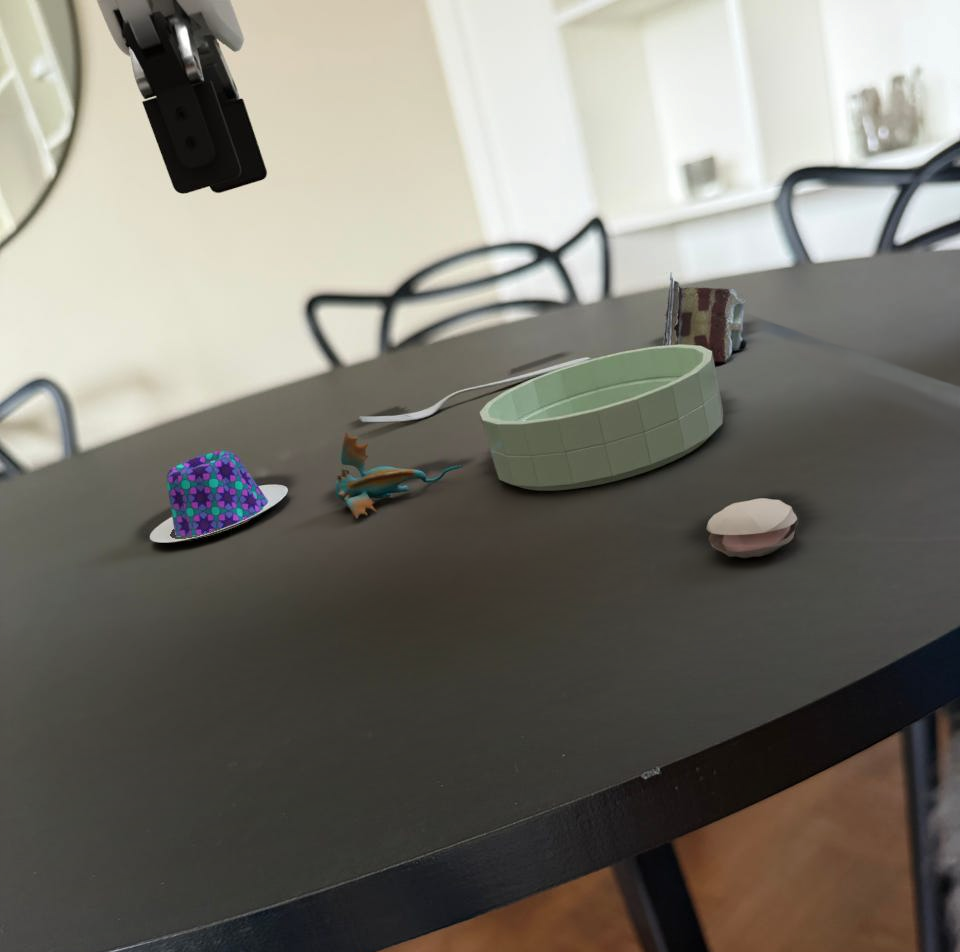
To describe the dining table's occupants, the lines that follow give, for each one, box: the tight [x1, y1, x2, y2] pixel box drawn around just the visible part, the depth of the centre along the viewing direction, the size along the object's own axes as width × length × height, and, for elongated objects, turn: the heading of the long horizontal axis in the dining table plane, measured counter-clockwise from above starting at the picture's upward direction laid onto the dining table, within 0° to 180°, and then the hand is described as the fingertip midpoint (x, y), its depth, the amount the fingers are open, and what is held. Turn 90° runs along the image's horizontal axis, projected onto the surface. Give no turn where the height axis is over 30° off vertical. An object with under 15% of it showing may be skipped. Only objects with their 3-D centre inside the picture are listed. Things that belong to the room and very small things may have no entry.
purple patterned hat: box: [149, 450, 289, 544], centre depth 85 cm, size 12×12×5 cm
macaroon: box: [706, 497, 799, 559], centre depth 50 cm, size 4×5×2 cm
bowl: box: [479, 344, 724, 492], centre depth 72 cm, size 16×16×5 cm
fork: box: [359, 356, 592, 424], centre depth 102 cm, size 3×24×2 cm, turn 106°
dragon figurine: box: [334, 431, 464, 519], centre depth 77 cm, size 6×7×8 cm
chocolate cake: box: [662, 273, 747, 363], centre depth 91 cm, size 10×7×12 cm
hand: (226, 185), depth 52 cm, fingers open, 9 cm apart
